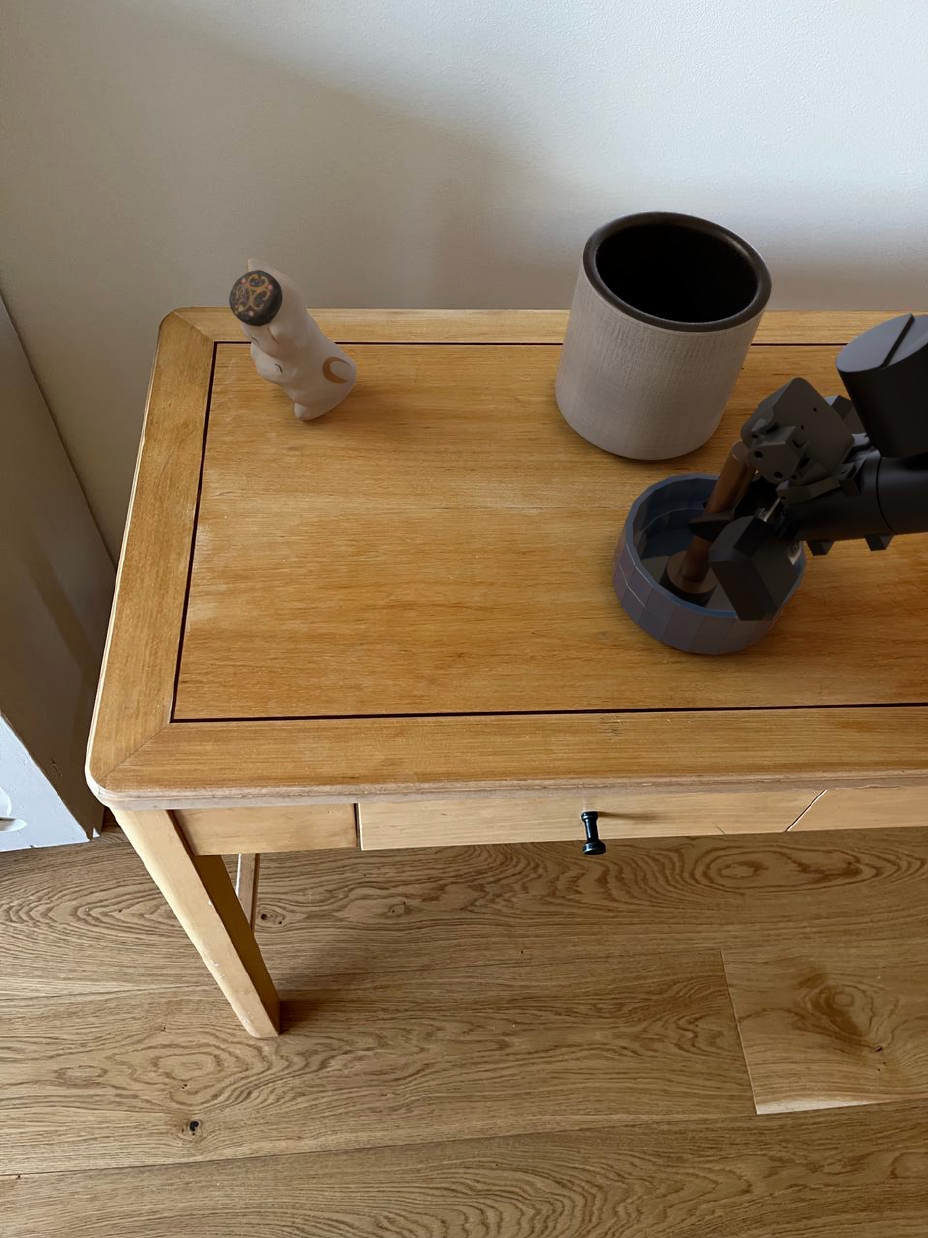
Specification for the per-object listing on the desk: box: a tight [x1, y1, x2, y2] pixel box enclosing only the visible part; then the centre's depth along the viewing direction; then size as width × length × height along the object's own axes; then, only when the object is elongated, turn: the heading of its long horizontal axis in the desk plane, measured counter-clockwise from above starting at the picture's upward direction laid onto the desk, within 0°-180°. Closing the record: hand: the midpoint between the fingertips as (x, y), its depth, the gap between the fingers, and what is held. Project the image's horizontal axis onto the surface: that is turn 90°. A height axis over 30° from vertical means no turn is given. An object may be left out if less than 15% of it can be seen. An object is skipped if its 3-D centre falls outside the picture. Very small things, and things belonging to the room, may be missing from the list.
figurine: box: [228, 257, 358, 421], centre depth 80 cm, size 9×10×15 cm
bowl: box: [611, 472, 807, 656], centre depth 75 cm, size 14×14×6 cm
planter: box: [554, 210, 773, 461], centre depth 82 cm, size 16×16×16 cm
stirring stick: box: [662, 440, 758, 604], centre depth 70 cm, size 4×4×16 cm
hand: (697, 517), depth 71 cm, fingers closed on stirring stick, 2 cm apart
